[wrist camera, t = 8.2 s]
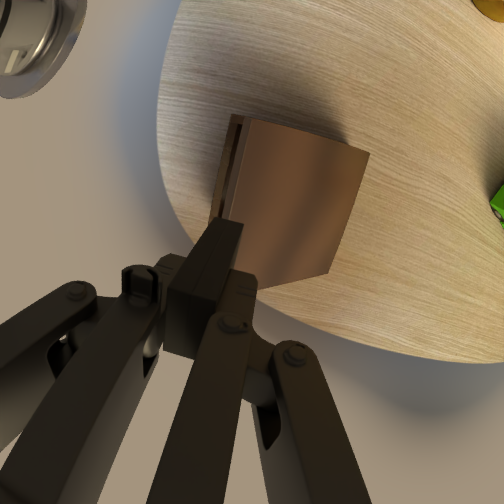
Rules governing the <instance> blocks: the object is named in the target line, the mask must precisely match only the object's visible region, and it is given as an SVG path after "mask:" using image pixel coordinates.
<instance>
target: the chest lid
mask: <svg viewBox="0 0 504 504" xmlns="http://www.w3.org/2000/svg"><path fill="white" fill-rule="evenodd" d="M369 156H370V153H369V152H366V151H364V150H361V149H358V148H355V147H352V146H350V145H347V144H344V143H341V142H338V141H335V140H331V139H328V138H325V137H322V136H319V135H315V134H312V133H309V132H305V131H302V130H298V129H295V128H291V127H287V126H283V125H279V124H276V123H272V122H267V121H263V120H259V119H255V118H250V117H245V118H244V122H243V126H242V130H241V134H240V138H239V143H238V147H237V151H236V155H235V160H234V164H233V168H232V173H231V177H230V182H229V186H228V191H227V196H226V200H225V205H224V210H223V214H222V218H223V219H227V220H231V221H235V222H239V223H243V224H244V228H243V232H242V236H241V241H240V245H239V249H238V253H237V257H236V261H235V266H234V269H235V270H239V271H243V272H247V273H250V274H254V275H255V277H256V279H257V281H258V288H257V290H260V289H265V288H269V287H273V286H278V285H282V284H286V283H291V282H295V281H299V280H303V279H307V278H311V277H316V276H320V275H324V274H328V272H329V269H330V267H331V264H332V262H333V259H334V257H335V254H336V252H337V249H338V246H339V244H340V241H341V238H342V236H343V233H344V230H345V227H346V225H347V222H348V219H349V216H350V214H351V211H352V208H353V205H354V202H355V199H356V196H357V193H358V190H359V187H360V184H361V181H362V178H363V175H364V172H365V169H366V165H367V162H368V159H369Z"/></svg>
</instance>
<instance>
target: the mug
mask: <svg viewBox="0 0 504 504" xmlns="http://www.w3.org/2000/svg"><path fill="white" fill-rule="evenodd" d="M473 2H474V4H475V5H476V7H477V8H478V9H479V10H480V11H481V12H482V13H483V14H484V15H485V16H487V17H489V18H490V19H492V20H494V21H497V22H501V23H503V22H504V0H473Z"/></svg>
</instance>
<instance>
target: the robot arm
mask: <svg viewBox="0 0 504 504" xmlns="http://www.w3.org/2000/svg"><path fill="white" fill-rule="evenodd" d="M57 14H58V1H57V0H0V75H2V76H16V75H19V74H21V73H23V72H24V71H26V70H27V69H28V68H29V67H30V66H31V65H32V64H33V63H34V62H35V60H36V59H37V58H38V57H39V55H40V54H41V52H42V51H43V49H44V48H45V46H46V44H47V42H48V40H49V38H50V36H51V34H52V31H53V29H54V26H55V23H56V19H57ZM243 228H244V224H243V223H239V222H235V221H231V220H227V219H223V218H219V217H214V218H213V220H212V221H211V223H210V224H209V225H208V227H207V228H206V230H205V231H204V233H203V234H202V236H201V237H200V239H199V240H198V241H197V243H196V244H195V246H194V247H193V249H192V250H191V252H190V253H189V255H188V257H187V258H186V257H182V256H179V255H175V254H171V253H170V254H168V255H166V256H164V257H161V258H160V260H159V261H158V262H157V263H156V265H155V266H154V267H151V266H146V265H132V266H128V267H126V268H124V269H123V270H122V293H121V295H120V296H119V297H103V296H97V293H96V289H95V287H94V286H93V285H91V284H90V283H87V282H85V281H71V282H69V283H66V284H64V285H62V286H60V287H59V288H57V289H56V290H54V291H52V292H51V293H49V294H48V295H46V296H44V297H43V298H41V299H39V300H38V301H36V302H35V303H33V304H31V305H30V306H28V307H27V308H25V309H24V310H22V311H20V312H19V313H17V314H16V315H14V316H13V317H11V318H10V319H9V320H7V321H5V322H4V323H2V324H1V325H0V452H1V451H2V450H3V449H4V448H5V447H6V446H7V445H8V444H9V443H10V442H11V441H12V440H13V439H15V438H16V437H17V436H18V435H19V434H20V433H21V432H22V431H23V432H22V433H21V435H20V437H19V438H18V440H17V442H16V443H15V445H14V447H13V449H12V450H11V452H10V454H9V456H8V458H7V459H6V461H5V463H4V465H3V467H2V468H1V470H0V504H97V502H98V499H99V497H100V494H101V492H102V489H103V486H104V484H105V481H106V479H107V476H108V474H109V472H110V469H111V466H112V464H113V462H114V459H115V457H116V454H117V452H118V450H119V447H120V445H121V442H122V440H123V438H124V436H125V433H126V431H127V429H128V426H129V424H130V422H131V419H132V417H133V415H134V413H135V410H136V408H137V406H138V404H139V401H140V399H141V397H142V394H143V392H144V390H145V388H146V386H147V383H148V381H149V379H150V377H151V375H152V373H153V370H154V368H155V366H156V364H157V362H158V358H159V349H160V347H161V345H162V343H163V351H167V352H170V353H173V354H176V355H180V356H183V357H186V358H190V359H193V360H194V363H193V365H192V368H191V371H190V374H189V377H188V380H187V383H186V386H185V388H184V391H183V394H182V397H181V400H180V403H179V406H178V409H177V411H176V414H175V417H174V420H173V423H172V426H171V429H170V432H169V435H168V438H167V441H166V444H165V447H164V450H163V453H162V456H161V459H160V462H159V465H158V468H157V471H156V474H155V477H154V480H153V483H152V486H151V489H150V492H149V495H148V498H147V502H146V504H223V503H224V497H225V492H226V486H227V481H228V475H229V469H230V464H231V458H232V452H233V447H234V441H235V435H236V429H237V423H238V418H239V412H240V406H241V399H244V400H246V401H248V402H250V403H252V404H251V407H252V412H253V419H254V425H255V431H256V436H257V442H258V447H259V453H260V459H261V464H262V470H263V475H264V481H265V486H266V491H267V496H268V502H269V504H372V503H371V500H370V497H369V494H368V491H367V488H366V486H365V483H364V480H363V478H362V474H361V472H360V469H359V466H358V464H357V461H356V458H355V455H354V453H353V450H352V447H351V445H350V442H349V439H348V437H347V434H346V431H345V429H344V426H343V423H342V421H341V418H340V415H339V413H338V410H337V408H336V405H335V402H334V400H333V397H332V394H331V392H330V389H329V387H328V384H327V382H326V379H325V376H324V374H323V371H322V369H321V366H320V364H319V361H318V359H317V356H316V355H315V353H314V352H313V350H312V349H310V348H309V347H308V346H307V345H305V344H303V343H300V342H298V341H292V340H288V341H282V342H280V343H278V344H277V345H276V346H275V345H273V344H271V343H269V342H267V341H266V340H264V339H262V338H261V337H260V336H259V335H257V333H256V332H255V331H254V329H253V326H252V319H253V313H254V307H255V300H256V294H257V288H258V281H257V279H256V277H255V275H254V274H250V273H247V272H243V271H239V270H235V269H234V266H235V261H236V257H237V253H238V249H239V245H240V241H241V236H242V232H243ZM65 334H66V338H65V339H63V340H59V339H60V338H61V337H63V336H64V335H65Z"/></svg>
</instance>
